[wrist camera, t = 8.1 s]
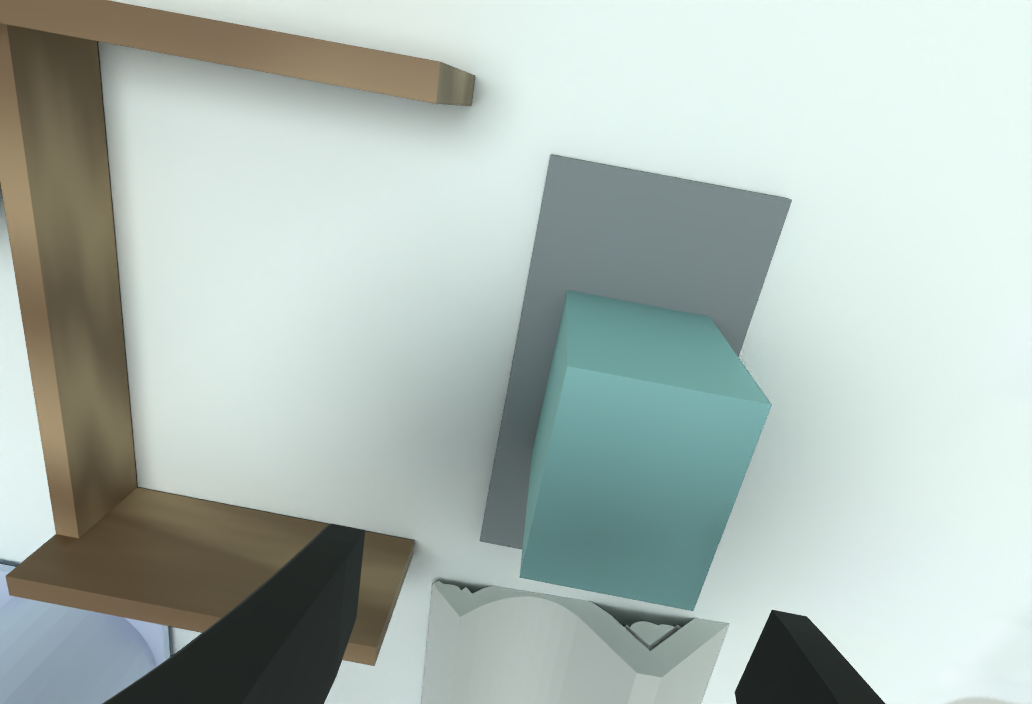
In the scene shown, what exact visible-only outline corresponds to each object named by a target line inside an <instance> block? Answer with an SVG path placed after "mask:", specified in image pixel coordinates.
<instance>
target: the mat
mask: <svg viewBox="0 0 1032 704" xmlns="http://www.w3.org/2000/svg"><path fill="white" fill-rule="evenodd" d="M791 201H792V200H791V199H788V198H784V197H778V196H773V195H767V194H762V193H757V192H751V191H746V190H740V189H735V188H730V187H724V186H719V185H713V184H708V183H703V182H697V181H692V180H686V179H681V178H676V177H670V176H665V175H660V174H654V173H649V172H643V171H638V170H633V169H627V168H622V167H616V166H611V165H606V164H600V163H595V162H589V161H584V160H579V159H573V158H568V157H562V156H557V155H552V154H551V156H550V161H549V167H548V172H547V177H546V183H545V188H544V194H543V199H542V205H541V210H540V216H539V221H538V226H537V232H536V237H535V243H534V248H533V254H532V259H531V265H530V270H529V275H528V281H527V286H526V292H525V297H524V303H523V308H522V314H521V319H520V324H519V330H518V335H517V341H516V346H515V352H514V357H513V363H512V368H511V373H510V379H509V384H508V390H507V395H506V401H505V406H504V412H503V417H502V422H501V428H500V433H499V439H498V444H497V450H496V455H495V461H494V466H493V471H492V477H491V482H490V488H489V493H488V499H487V504H486V510H485V515H484V520H483V526H482V531H481V537H480V541H481V542H487V543H492V544H497V545H502V546H507V547H513V548H518V549H523V539H524V529H525V519H526V509H527V499H528V489H529V479H530V470H531V460H532V451H533V447H534V442H535V437H536V433H537V428H538V423H539V419H540V414H541V409H542V405H543V400H544V395H545V391H546V386H547V381H548V376H549V372H550V367H551V362H552V358H553V353H554V348H555V344H556V339H557V334H558V330H559V325H560V320H561V316H562V311H563V306H564V302H565V297H566V292H567V290H571V291H576V292H581V293H587V294H592V295H597V296H602V297H608V298H613V299H618V300H624V301H629V302H634V303H639V304H645V305H650V306H655V307H661V308H666V309H671V310H676V311H682V312H687V313H692V314H698V315H703V316H708V317H710V318H711V319H712V321H713V322H714V323H715V325H716V326H717V328H718V329H719V331H720V332H721V333H722V335H723V336H724V338H725V339H726V341H727V342H728V343H729V345H730V346H731V348H732V349H733V351H734V352H735V353H736V355H737V356H739V353H740V351H741V348H742V345H743V342H744V339H745V336H746V333H747V330H748V327H749V324H750V321H751V318H752V315H753V313H754V310H755V307H756V304H757V301H758V298H759V295H760V292H761V289H762V286H763V283H764V280H765V277H766V275H767V272H768V269H769V266H770V263H771V260H772V257H773V254H774V251H775V248H776V245H777V242H778V239H779V237H780V234H781V231H782V228H783V225H784V222H785V219H786V216H787V213H788V210H789V207H790V204H791Z"/></svg>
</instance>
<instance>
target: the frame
mask: <svg viewBox="0 0 1032 704" xmlns="http://www.w3.org/2000/svg"><path fill="white" fill-rule="evenodd" d="M97 41H100V42H105V43H111V44H116V45H121V46H127V47H132V48H138V49H143V50H148V51H154V52H159V53H165V54H170V55H175V56H181V57H186V58H192V59H197V60H203V61H208V62H213V63H219V64H224V65H230V66H235V67H240V68H246V69H251V70H257V71H262V72H267V73H273V74H278V75H284V76H289V77H294V78H300V79H305V80H311V81H316V82H321V83H327V84H332V85H338V86H343V87H348V88H354V89H359V90H365V91H370V92H375V93H381V94H386V95H392V96H397V97H403V98H408V99H413V100H419V101H424V102H430V103H435V104H448V105H464V106H471V104H472V96H473V88H474V81H475V75H472V74H470V73H467V72H465V71H462V70H460V69H457V68H455V67H452V66H450V65H447V64H445V63H442V62H439V61H433V60H428V59H422V58H417V57H412V56H406V55H401V54H395V53H390V52H384V51H379V50H374V49H368V48H363V47H357V46H352V45H346V44H341V43H336V42H330V41H325V40H319V39H314V38H309V37H303V36H298V35H292V34H287V33H281V32H276V31H271V30H265V29H260V28H254V27H249V26H243V25H238V24H233V23H227V22H222V21H216V20H211V19H205V18H200V17H195V16H189V15H184V14H178V13H173V12H168V11H162V10H157V9H151V8H146V7H140V6H135V5H130V4H124V3H119V2H113V1H108V0H0V183H1V189H2V196H3V202H4V208H5V214H6V221H7V227H8V233H9V240H10V246H11V252H12V259H13V265H14V271H15V278H16V284H17V290H18V297H19V303H20V309H21V315H22V322H23V328H24V334H25V341H26V347H27V353H28V360H29V366H30V372H31V379H32V385H33V391H34V398H35V404H36V410H37V416H38V423H39V429H40V435H41V442H42V448H43V454H44V461H45V467H46V473H47V480H48V486H49V492H50V499H51V505H52V511H53V517H54V524H55V530H56V535H54V536H53V537H52V538H51V539H50V540H48V541H47V542H46V543H45V544H43V545H42V546H41V547H40V548H39V549H37V550H36V551H35V552H34V553H33V554H31V555H30V556H29V557H28V558H27V559H25V560H24V561H23V562H22V563H21V564H19V565H18V566H17V567H16V568H14V569H13V570H12V571H11V572H10V573H8V574H7V575H6V576H5V577H6V582H7V587H8V591H9V595H10V596H15V597H20V598H25V599H31V600H36V601H41V602H46V603H51V604H56V605H62V606H67V607H72V608H77V609H82V610H87V611H93V612H98V613H103V614H108V615H113V616H118V617H124V618H129V619H134V620H139V621H144V622H149V623H155V624H160V625H165V626H170V627H175V628H180V629H186V630H191V631H196V632H201V633H203V632H204V631H206V630H207V629H208V628H209V627H211V626H212V625H213V624H215V623H216V622H217V621H219V620H220V619H221V618H222V617H224V616H225V615H226V614H228V613H229V612H230V611H231V610H232V609H234V608H235V607H236V606H237V605H239V604H240V603H241V602H242V601H243V600H244V599H246V598H247V597H248V596H249V595H250V594H252V593H253V592H254V591H255V590H256V589H258V588H259V587H260V586H261V585H262V584H263V583H265V582H266V581H267V580H268V579H269V578H271V577H272V576H273V575H274V574H275V573H276V572H277V571H278V570H280V569H281V568H282V567H283V566H284V565H285V564H286V563H287V562H288V561H290V560H291V559H292V558H293V557H294V556H295V555H296V554H297V553H298V552H299V551H300V550H302V549H303V548H304V547H305V546H306V545H307V544H308V543H309V542H310V541H311V540H312V539H313V538H314V537H315V536H316V535H317V534H318V533H319V532H320V531H322V530H323V529H324V528H325V527H326V526H328V525H330V524H326V523H320V522H315V521H310V520H305V519H299V518H294V517H289V516H284V515H279V514H273V513H268V512H263V511H258V510H252V509H247V508H242V507H237V506H232V505H226V504H221V503H216V502H211V501H205V500H200V499H195V498H190V497H185V496H179V495H174V494H169V493H164V492H158V491H153V490H148V489H143V488H138V487H137V479H136V468H135V457H134V446H133V435H132V424H131V413H130V401H129V390H128V379H127V368H126V357H125V346H124V335H123V323H122V312H121V301H120V290H119V279H118V268H117V257H116V245H115V234H114V223H113V212H112V201H111V190H110V179H109V167H108V156H107V145H106V134H105V123H104V112H103V101H102V89H101V78H100V67H99V56H98V45H97ZM413 547H414V540H409V539H404V538H399V537H393V536H388V535H383V534H378V533H373V532H367V531H365V538H364V548H363V558H362V568H361V578H360V588H359V598H358V608H357V618H356V621H355V624H354V627H353V630H352V633H351V636H350V639H349V641H348V644H347V647H346V650H345V653H344V656H343V659H342V660H346V661H351V662H356V663H361V664H367V665H372V666H375V663H376V660H377V657H378V654H379V651H380V648H381V645H382V643H383V640H384V637H385V634H386V631H387V628H388V625H389V622H390V619H391V617H392V614H393V611H394V608H395V605H396V602H397V599H398V596H399V593H400V591H401V588H402V585H403V582H404V579H405V576H406V573H407V570H408V568H409V565H410V562H411V559H412V555H413Z"/></svg>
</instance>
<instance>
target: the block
mask: <svg viewBox="0 0 1032 704" xmlns="http://www.w3.org/2000/svg"><path fill="white" fill-rule="evenodd" d="M770 408H771V403H770V402H769V400H768V399H767V398H766V396H765V395H764V393H763V392H762V390H761V389H760V388H759V386H758V385H757V383H756V382H755V380H754V379H753V378H752V376H751V375H750V373H749V372H748V370H747V369H746V368H745V366H744V365H743V363H742V362H741V361H740V359H739V358H738V356H737V355H736V353H735V352H734V351H733V349H732V348H731V346H730V345H729V343H728V342H727V341H726V339H725V338H724V336H723V335H722V333H721V332H720V331H719V329H718V328H717V326H716V325H715V323H714V322H713V321H712V319H711V318H710V317H708V316H703V315H698V314H692V313H687V312H682V311H676V310H671V309H666V308H661V307H655V306H650V305H645V304H639V303H634V302H629V301H624V300H618V299H613V298H608V297H602V296H597V295H592V294H587V293H581V292H576V291H571V290H567V292H566V297H565V302H564V306H563V311H562V316H561V320H560V325H559V330H558V334H557V339H556V344H555V348H554V353H553V358H552V362H551V367H550V372H549V376H548V381H547V386H546V391H545V395H544V400H543V405H542V409H541V414H540V419H539V423H538V428H537V433H536V437H535V442H534V447H533V451H532V460H531V470H530V479H529V489H528V499H527V509H526V519H525V529H524V539H523V549H522V559H521V569H520V578H525V579H530V580H535V581H541V582H546V583H551V584H556V585H561V586H566V587H572V588H577V589H582V590H587V591H592V592H598V593H603V594H608V595H613V596H618V597H623V598H629V599H634V600H639V601H644V602H649V603H654V604H660V605H665V606H670V607H675V608H680V609H685V610H691V611H693V610H694V607H695V605H696V602H697V600H698V597H699V594H700V592H701V589H702V586H703V584H704V581H705V579H706V576H707V573H708V571H709V568H710V565H711V563H712V560H713V558H714V555H715V552H716V550H717V547H718V544H719V542H720V539H721V537H722V534H723V531H724V529H725V526H726V523H727V521H728V518H729V516H730V513H731V510H732V508H733V505H734V502H735V500H736V497H737V494H738V492H739V489H740V487H741V484H742V481H743V479H744V476H745V473H746V471H747V468H748V466H749V463H750V460H751V458H752V455H753V452H754V450H755V447H756V445H757V442H758V439H759V437H760V434H761V431H762V429H763V426H764V424H765V421H766V418H767V416H768V413H769V410H770Z"/></svg>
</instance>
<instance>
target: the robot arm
mask: <svg viewBox="0 0 1032 704" xmlns="http://www.w3.org/2000/svg"><path fill="white" fill-rule="evenodd" d="M364 538H365V530H361V529H356V528H351V527H346V526H340V525H335V524H330V525H328V526H326V527H325V528H324V529H323V530H322V531H320V532H319V533H318V534H317V535H316V536H315V537H314V538H313V539H312V540H311V541H310V542H309V543H308V544H307V545H306V546H305V547H304V548H303V549H302V550H300V551H299V552H298V553H297V554H296V555H295V556H294V557H293V558H292V559H291V560H290V561H288V562H287V563H286V564H285V565H284V566H283V567H282V568H281V569H280V570H278V571H277V572H276V573H275V574H274V575H273V576H272V577H271V578H269V579H268V580H267V581H266V582H265V583H263V584H262V585H261V586H260V587H259V588H258V589H256V590H255V591H254V592H253V593H252V594H250V595H249V596H248V597H247V598H246V599H244V600H243V601H242V602H241V603H240V604H239V605H237V606H236V607H235V608H234V609H232V610H231V611H230V612H229V613H228V614H226V615H225V616H224V617H222V618H221V619H220V620H219V621H217V622H216V623H215V624H213V625H212V626H211V627H209V628H208V629H207V630H206V631H204V632H203V633H202V634H200V635H199V636H198V637H196V638H195V639H194V640H193V641H191V642H190V643H189V644H187V645H186V646H185V647H183V648H182V649H181V650H179V651H178V652H177V653H175V654H174V655H173V656H171V657H170V648H169V635H168V626H165V625H160V624H155V623H149V622H144V621H139V620H134V619H129V618H124V617H118V616H113V615H108V614H103V613H98V612H93V611H87V610H82V609H77V608H72V607H67V606H62V605H56V604H51V603H46V602H41V601H36V600H31V599H25V598H20V597H15V596H10V595H9V591H8V587H7V582H6V577H5V576H6V575H7V574H8V573H10V572H11V571H12V570H13V569H14V568H16V567H14V566H9V565H4V564H0V704H324V702H325V700H326V697H327V695H328V693H329V691H330V689H331V687H332V684H333V682H334V680H335V678H336V675H337V673H338V670H339V667H340V664H341V661H342V659H343V656H344V653H345V650H346V647H347V644H348V641H349V639H350V636H351V633H352V630H353V627H354V624H355V621H356V618H357V608H358V598H359V588H360V578H361V568H362V558H363V548H364ZM735 696H736V703H737V704H885V703H884V702H883V701H882V699H881V698H880V697H879V696H878V695H877V694H876V693H875V692H874V690H873V689H872V688H871V687H870V686H869V685H868V684H867V683H866V681H865V680H864V679H863V678H862V677H861V676H860V675H859V674H858V672H857V671H856V670H855V669H854V668H853V667H852V666H851V664H850V663H849V662H848V661H847V660H846V659H845V658H844V657H843V655H842V654H841V653H840V652H839V651H838V650H837V649H836V648H835V646H834V645H833V644H832V643H831V642H830V641H829V640H828V639H827V638H826V636H825V635H824V634H823V633H822V632H821V631H820V630H819V629H818V628H817V627H816V626H815V625H814V624H813V623H812V622H811V620H810V619H809V618H808V617H806V616H801V615H796V614H791V613H786V612H781V611H776V610H772V611H771V613H770V615H769V618H768V620H767V622H766V624H765V626H764V629H763V631H762V633H761V635H760V638H759V640H758V642H757V644H756V646H755V649H754V651H753V653H752V655H751V657H750V660H749V662H748V664H747V666H746V668H745V671H744V673H743V675H742V677H741V679H740V682H739V684H738V686H737V688H736V690H735Z"/></svg>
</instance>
